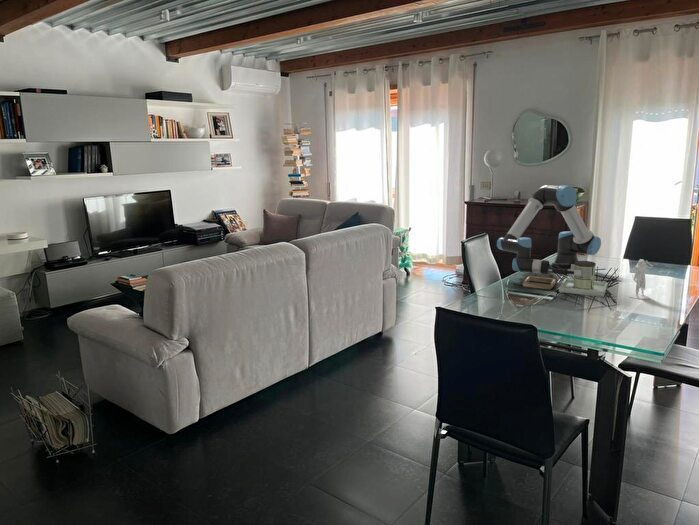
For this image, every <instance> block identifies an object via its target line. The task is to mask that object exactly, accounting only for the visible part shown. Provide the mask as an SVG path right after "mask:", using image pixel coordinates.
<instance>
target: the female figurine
mask: <svg viewBox="0 0 699 525" xmlns="http://www.w3.org/2000/svg"><path fill="white" fill-rule="evenodd" d="M648 265H649V266H648ZM653 267H654V265H653V264H652V263H650V262H649V261H648V260H644V259H643V258H642V259H641V258H640V259H639V260H638V262H637V263H636V265H635V272H634V275H633V273H632V272H630V274H631V275H632V277H631V278H632V280H633V282H635V286H636V287H635V293H631V294H629V295H628V296H629V297H630V298H632V299H636V300H650V299H651V297H650V296H649V295H647V294H644V293H645V292H644V291H645V290H646V274H645V273H646V271H647V269H653ZM640 291H641V294H639V292H640Z"/></svg>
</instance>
